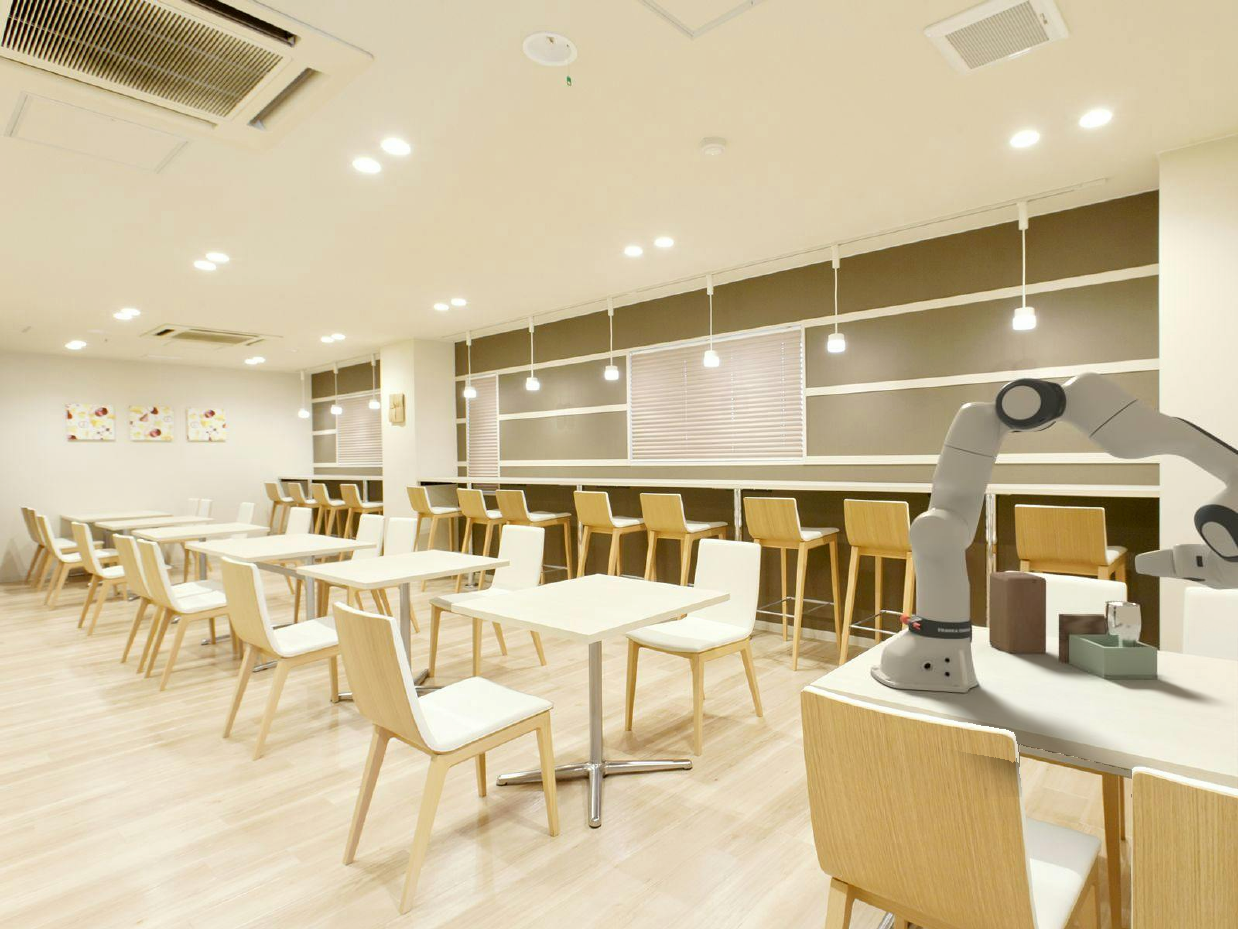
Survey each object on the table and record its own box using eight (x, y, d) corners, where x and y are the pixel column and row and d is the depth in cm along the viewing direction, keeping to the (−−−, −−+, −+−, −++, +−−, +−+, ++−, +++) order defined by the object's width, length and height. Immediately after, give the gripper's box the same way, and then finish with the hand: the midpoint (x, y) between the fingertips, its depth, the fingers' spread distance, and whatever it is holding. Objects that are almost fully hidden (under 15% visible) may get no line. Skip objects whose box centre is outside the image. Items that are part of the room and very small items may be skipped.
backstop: (1118, 690, 146) (1119, 635, 146) (1058, 662, 166) (1058, 614, 166) (1183, 690, 146) (1183, 635, 146) (1115, 662, 166) (1115, 614, 166)
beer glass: (1148, 672, 153) (1148, 607, 153) (1114, 671, 154) (1115, 606, 154) (1128, 663, 160) (1129, 601, 160) (1097, 662, 161) (1097, 600, 161)
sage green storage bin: (1104, 679, 152) (1104, 648, 152) (1068, 663, 164) (1068, 634, 164) (1157, 679, 152) (1157, 648, 152) (1118, 663, 164) (1118, 634, 164)
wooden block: (1047, 655, 172) (1048, 577, 172) (1008, 655, 172) (1008, 577, 172) (1024, 645, 182) (1024, 571, 182) (987, 645, 182) (987, 571, 182)
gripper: (1267, 556, 131) (1198, 563, 144) (1172, 542, 129) (1111, 551, 142) (1271, 588, 129) (1202, 593, 142) (1175, 575, 127) (1114, 581, 140)
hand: (1156, 572), depth 142 cm, fingers closed
